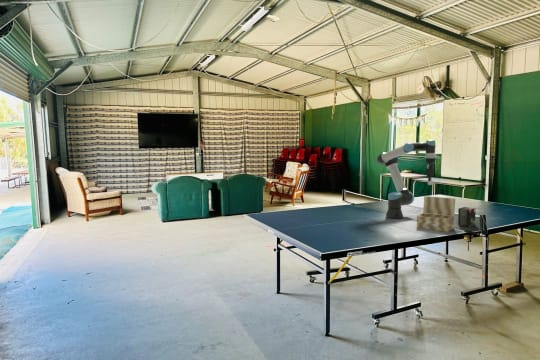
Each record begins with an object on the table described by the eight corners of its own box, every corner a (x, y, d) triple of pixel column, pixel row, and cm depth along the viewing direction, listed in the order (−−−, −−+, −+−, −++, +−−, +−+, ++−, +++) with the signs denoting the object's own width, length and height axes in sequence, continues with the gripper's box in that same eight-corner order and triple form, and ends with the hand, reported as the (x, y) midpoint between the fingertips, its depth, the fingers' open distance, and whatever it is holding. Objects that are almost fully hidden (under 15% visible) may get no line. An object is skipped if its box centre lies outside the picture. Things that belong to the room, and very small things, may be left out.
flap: (424, 196, 298) (424, 196, 299) (423, 212, 298) (423, 212, 299) (454, 198, 281) (455, 198, 282) (454, 216, 282) (454, 215, 283)
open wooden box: (416, 227, 289) (416, 215, 288) (423, 224, 299) (423, 212, 298) (448, 231, 273) (448, 219, 272) (453, 228, 283) (454, 216, 282)
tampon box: (469, 227, 285) (469, 209, 283) (457, 225, 292) (458, 208, 291) (475, 225, 291) (476, 208, 290) (464, 223, 299) (464, 206, 297)
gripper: (432, 158, 299) (431, 185, 302) (437, 157, 308) (436, 184, 311) (423, 158, 304) (422, 185, 307) (428, 157, 314) (428, 183, 316)
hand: (429, 184), depth 309 cm, fingers closed
